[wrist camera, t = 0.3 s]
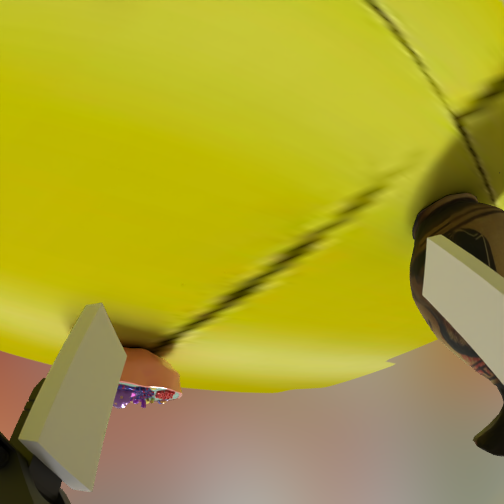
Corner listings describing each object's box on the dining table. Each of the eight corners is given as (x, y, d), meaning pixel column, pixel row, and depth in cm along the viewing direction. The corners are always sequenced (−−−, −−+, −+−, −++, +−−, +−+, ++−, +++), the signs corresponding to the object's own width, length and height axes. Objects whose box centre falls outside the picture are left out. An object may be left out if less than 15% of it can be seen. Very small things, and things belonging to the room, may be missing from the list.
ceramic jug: (416, 268, 43) (475, 463, 25) (369, 228, 33) (448, 507, 16) (507, 206, 33) (589, 405, 16) (490, 141, 24) (621, 424, 6)
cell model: (141, 370, 65) (143, 419, 59) (67, 344, 50) (63, 403, 44) (201, 355, 60) (205, 411, 53) (123, 324, 45) (121, 397, 38)
